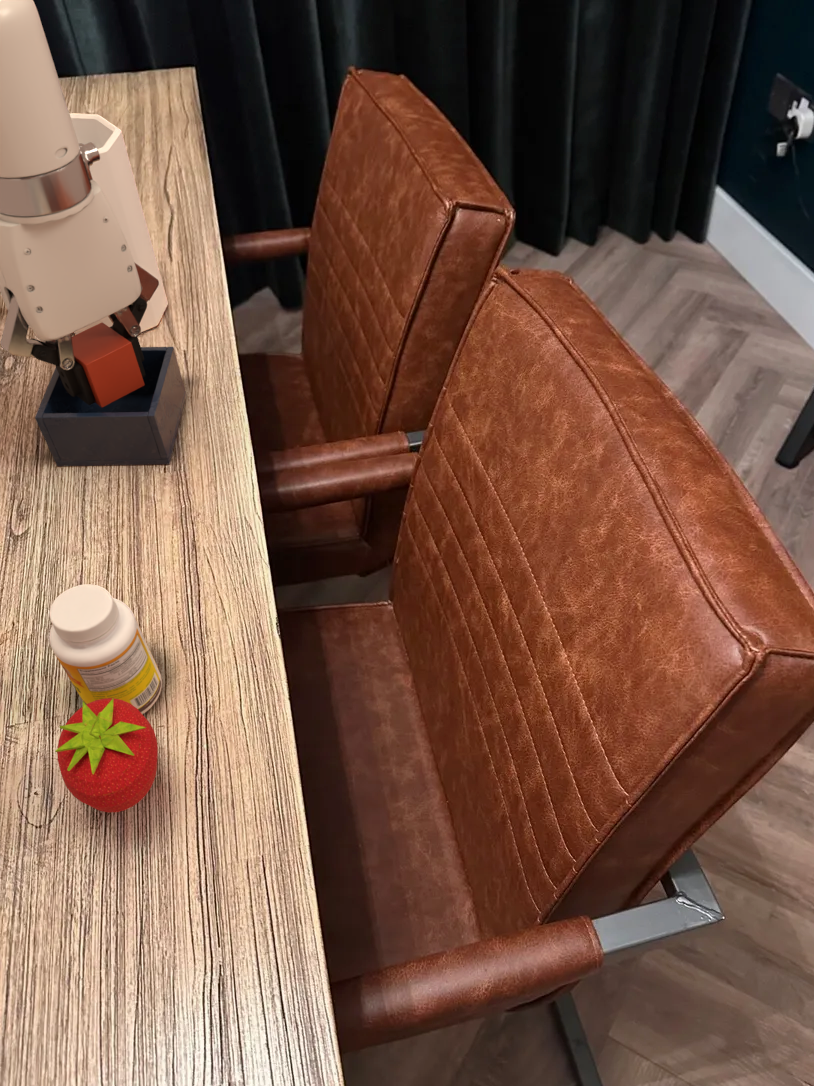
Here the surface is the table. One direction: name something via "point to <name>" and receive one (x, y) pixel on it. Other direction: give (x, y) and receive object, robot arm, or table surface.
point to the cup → (122, 204)
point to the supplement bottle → (103, 648)
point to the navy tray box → (117, 419)
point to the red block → (107, 363)
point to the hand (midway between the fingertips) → (108, 382)
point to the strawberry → (108, 755)
